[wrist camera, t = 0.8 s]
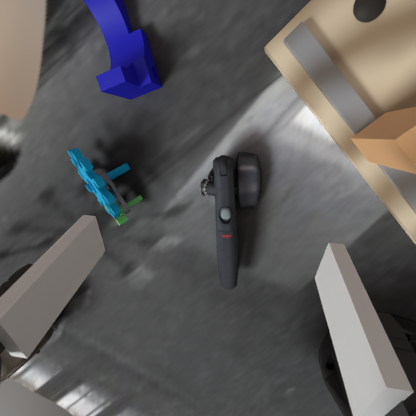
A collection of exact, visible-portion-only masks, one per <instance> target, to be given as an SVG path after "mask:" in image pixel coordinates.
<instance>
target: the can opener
mask: <svg viewBox="0 0 416 416" xmlns="http://www.w3.org/2000/svg"><path fill="white" fill-rule="evenodd" d="M200 193H201V195H202V196H210V195H214V196H215V203H216V238H217V257H218V269H219V276H220V282H221V286H222V287H223V288H224V289H227V290H231V289H233V288H235V287H236V285H237V278H238V240H237V223H236V207H235V201H236V202H237V203H238V204H239V208H240V210H243V209H248V208H252V207H255V206H257V204H258V201H259V198H260V193H261V168H260V164H259V160H258V157H257V155H256V154H253V153H244V152H239V153H238V156H237V165H236V168H235V169H234V167H233V159H232V158H231V157H228V156H225V155H222V156H220V157H216V158H215V159H214V161H213V169H212V170H211V171H210V173H209V176H208V180H207V179H203V181H202V182H201V184H200Z"/></svg>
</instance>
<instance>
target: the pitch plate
mask: <svg viewBox="0 0 416 416" xmlns="http://www.w3.org/2000/svg"><path fill="white" fill-rule="evenodd" d="M265 53H266V54H267V55H268V57H269V58H270V59H271V60H272V62H273V63H274V64H275V65H276V67H277V68H278V69H279V71H280V72H281V73H282V74H283V76H284V77H285V78H286V80H287V81H288V82H289V83H290V85H291V86H292V87H293V88H294V90H295V91H296V92H297V94H298V95H299V96H300V97H301V99H302V100H303V101H304V103H305V104H306V105H307V106H308V108H309V109H310V110H311V111H312V113H313V114H314V115H315V117H316V118H317V119H318V120H319V122H320V123H321V124H322V126H323V127H324V128H325V129H326V131H327V132H328V133H329V134H330V136H331V137H332V138H333V140H334V141H335V142H336V143H337V145H338V146H339V147H340V149H341V150H342V151H343V152H344V154H345V155H346V156H347V157H348V159H349V160H350V161H351V163H352V164H353V165H354V166H355V168H356V169H357V170H358V172H359V173H360V174H361V175H362V177H363V178H364V179H365V180H366V182H367V183H368V184H369V186H370V187H371V188H372V189H373V191H374V192H375V193H376V195H377V196H378V197H379V198H380V200H381V201H382V202H383V203H384V205H385V206H386V207H387V209H388V210H389V211H390V212H391V214H392V215H393V216H394V218H395V219H396V220H397V221H398V223H399V224H400V225H401V226H402V228H403V229H404V230H405V232H406V233H407V234H408V235H409V237H410V238H411V239H412V241H413V242H414V243H415V244H416V174H414V173H410V172H406V171H402V170H398V169H394V168H390V167H386V166H383V165H379V164H375V163H371V162H368V160H367V159H366V158H365V157H364V155H363V154H362V153H361V151H360V150H359V149H358V148H357V146H356V145H355V144H354V142H353V141H352V140H351V139H350V138H352V137H353V136H354V135H356V134H357V133H358V132H360V131H361V130H363V129H364V128H365V127H367V126H368V125H369V124H371V123H372V122H373V121H375V120H376V119H378V118H379V117H380V116H382V115H383V114H384V113H386V112H392V111H397V110H402V109H407V108H412V107H416V0H311V1H310V2H309V3H308V4H307V5H306V6H305V7H304V8H303V9H302V10H301V11H300V12H299V13H298V14H297V15H296V16H295V17H294V18H293V19H292V20H291V21H290V22H289V23H288V24H287V25H286V26H285V27H284V28H283V29H282V30H281V31H280V32H279V33H278V34H277V35H276V36H275V37H274V38H273V39H272V40H271V41H270V42H269V43H268V44H267V45H266V46H265Z"/></svg>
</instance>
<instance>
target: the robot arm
mask: <svg viewBox="0 0 416 416" xmlns="http://www.w3.org/2000/svg"><path fill="white" fill-rule="evenodd" d="M104 252H105V248H104V245H103V241H102V238H101V234H100V230H99V227H98V223H97V220H96V216H88V215H83V216H82V217H81V218H80V219H79V220H78V221H77V222H76V223H75V224H74V225H73V226H72V227H71V228H70V229H69V230H68V231H67V232H66V233H65V234H64V235H63V236H62V237H61V238H60V239H59V240H58V241H57V242H56V243H55V244H54V245H53V246H52V247H51V248H50V249H49V250H48V251H47V252H46V253H44V254H43V255H42V256H41V257H40V258H39V259H38V260H37V261H36V262H35V263H34V264H27V265H26V266H24V267H22V268H21V269H19V270H17V271H16V272H15V273H14V274H13V275H12V276H11V277H10V278H9V279H8V280H7V282H5V283H3V284H2V285H1V286H0V354H1V353H2V352H3V351H4V349H6V350H7V351H8V352H9V354H10V355H11V356H15V357H21V358H26V359H28V357H29V356H30V355H31V353H32V352H33V350H34V349H35V348H36V346H37V345H38V344H39V342H40V341H41V339H42V338H43V337H44V335H45V334H46V332H47V331H48V330H49V328H50V327H51V326H52V324H53V323H54V321H55V320H56V319H57V317H58V316H59V314H60V313H61V312H62V310H63V309H64V307H65V306H66V305H67V303H68V302H69V301H70V299H71V298H72V296H73V295H74V294H75V292H76V291H77V289H78V288H79V287H80V285H81V284H82V283H83V281H84V280H85V278H86V277H87V276H88V274H89V273H90V271H91V270H92V269H93V267H94V266H95V264H96V263H97V262H98V260H99V259H100V258H101V256H102V255H103V253H104ZM315 281H316V284H317V288H318V291H319V295H320V299H321V302H322V306H323V310H324V313H325V317H326V320H327V324H328V328H329V331H330V332H329V333H328V335H327V336H326V337H325V338H324V340H323V342H322V344H321V347H320V350H319V363H320V368H321V372H322V376H323V379H324V382H325V384H326V387H327V388H328V390H329V392H330V394H331V395H332V397H333V399H334V400H335V402H336V404H337V405H338V407H339V409H340V410H341V412H342V414H343V415H344V416H416V323H415V322H412V321H410V320H407V319H404V318H400V317H395V316H391V315H390V314H389V313H382V312H376V311H375V309H374V307H373V305H372V303H371V301H370V298H369V296H368V294H367V292H366V290H365V288H364V286H363V284H362V282H361V279H360V277H359V275H358V273H357V271H356V269H355V267H354V265H353V263H352V260H351V258H350V256H349V254H348V252H347V250H346V248H345V246H344V244H337V243H328V246H327V248H326V251H325V253H324V256H323V258H322V261H321V263H320V266H319V268H318V271H317V273H316V276H315ZM1 365H2V360H1V356H0V378H1Z"/></svg>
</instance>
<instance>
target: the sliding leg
mask: <svg viewBox="0 0 416 416" xmlns="http://www.w3.org/2000/svg"><path fill="white" fill-rule="evenodd" d="M350 139H351V140H352V141H353V142H354V144H355V145H356V146H357V148H358V149H359V150H360V151H361V153H362V154H363V155H364V157H365V158H366V159H367V160H368V162H371V163H375V164H379V165H383V166H386V167H390V168H394V169H398V170H402V171H406V172H410V173H414V174H416V107H412V108H407V109H402V110H397V111H392V112H386V113H384V114H383V115H382V116H380V117H379V118H378V119H376V120H375V121H373V122H372V123H371V124H369V125H368V126H367V127H365V128H364V129H363V130H361V131H360V132H358V133H357V134H356V135H354V136H353V137H352V138H350Z"/></svg>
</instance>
